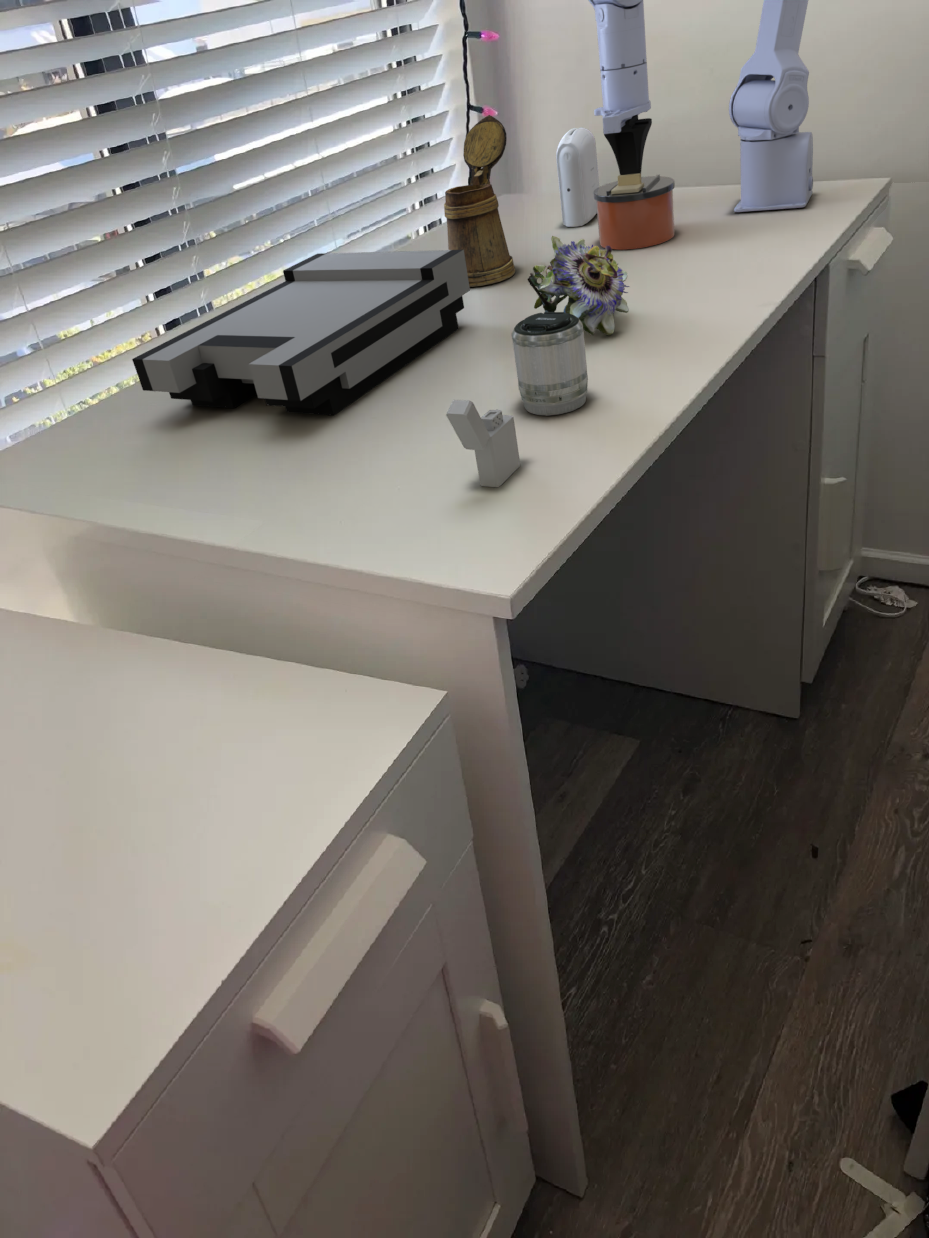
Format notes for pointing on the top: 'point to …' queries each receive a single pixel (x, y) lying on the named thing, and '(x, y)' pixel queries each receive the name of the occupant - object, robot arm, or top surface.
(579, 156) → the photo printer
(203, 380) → the game console
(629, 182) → the slider
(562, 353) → the camera lens
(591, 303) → the passion flower
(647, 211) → the orange lidded canister
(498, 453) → the lighter
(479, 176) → the wooden mug
